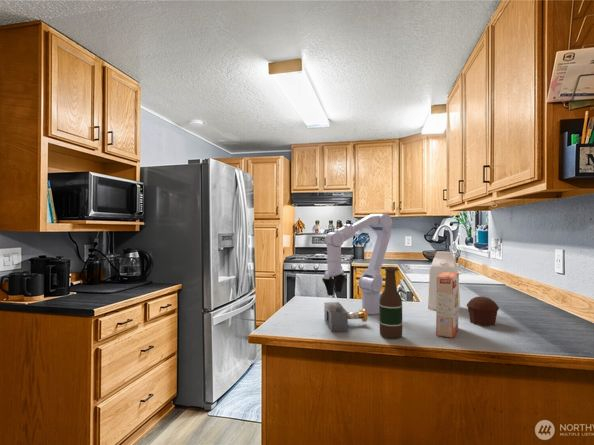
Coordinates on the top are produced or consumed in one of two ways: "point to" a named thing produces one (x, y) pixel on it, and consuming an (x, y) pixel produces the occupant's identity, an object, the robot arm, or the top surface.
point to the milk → (438, 266)
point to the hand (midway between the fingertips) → (334, 293)
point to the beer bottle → (390, 308)
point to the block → (336, 317)
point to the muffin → (482, 311)
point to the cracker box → (447, 304)
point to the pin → (358, 315)
